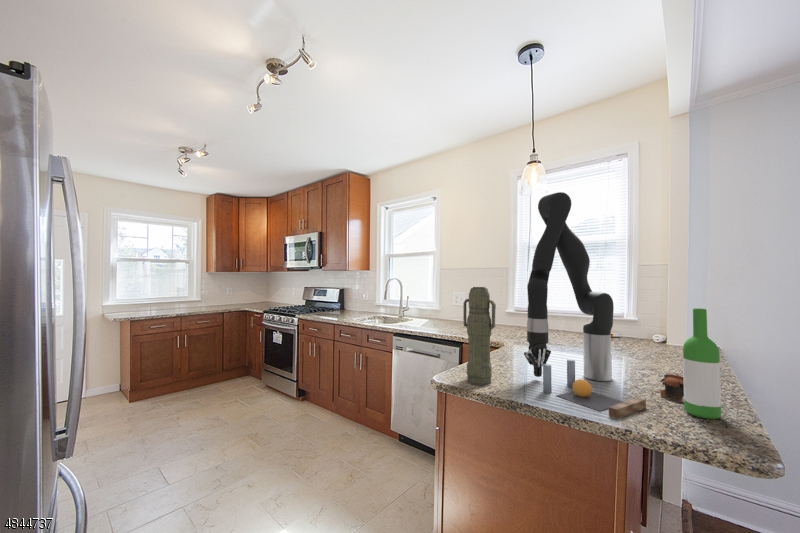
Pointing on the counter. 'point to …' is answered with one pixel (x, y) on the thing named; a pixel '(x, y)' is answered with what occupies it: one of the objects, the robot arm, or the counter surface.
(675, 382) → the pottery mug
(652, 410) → the counter surface
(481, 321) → the thermos
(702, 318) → the wine bottle
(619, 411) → the wall
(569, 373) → the post
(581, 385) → the ball
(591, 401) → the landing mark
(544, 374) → the post
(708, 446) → the counter surface
